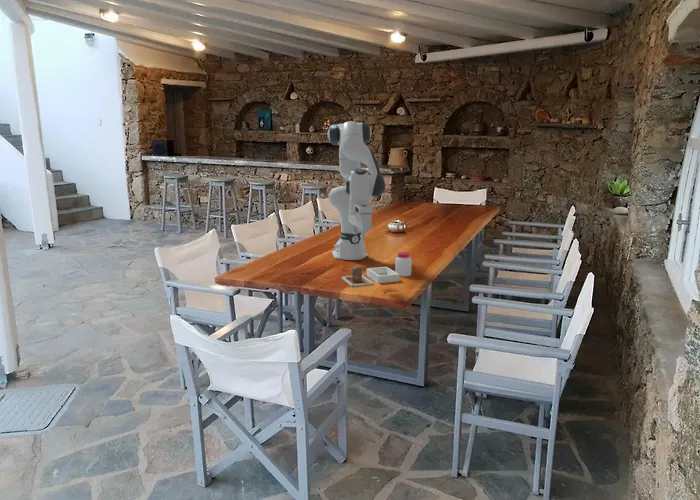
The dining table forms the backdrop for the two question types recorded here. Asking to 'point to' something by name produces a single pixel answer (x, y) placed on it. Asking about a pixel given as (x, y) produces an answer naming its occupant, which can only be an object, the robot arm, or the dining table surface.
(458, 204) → the dining table surface
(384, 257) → the dining table surface
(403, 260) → the pill bottle
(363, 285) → the tray
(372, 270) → the white storage bin
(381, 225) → the dining table surface
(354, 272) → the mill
